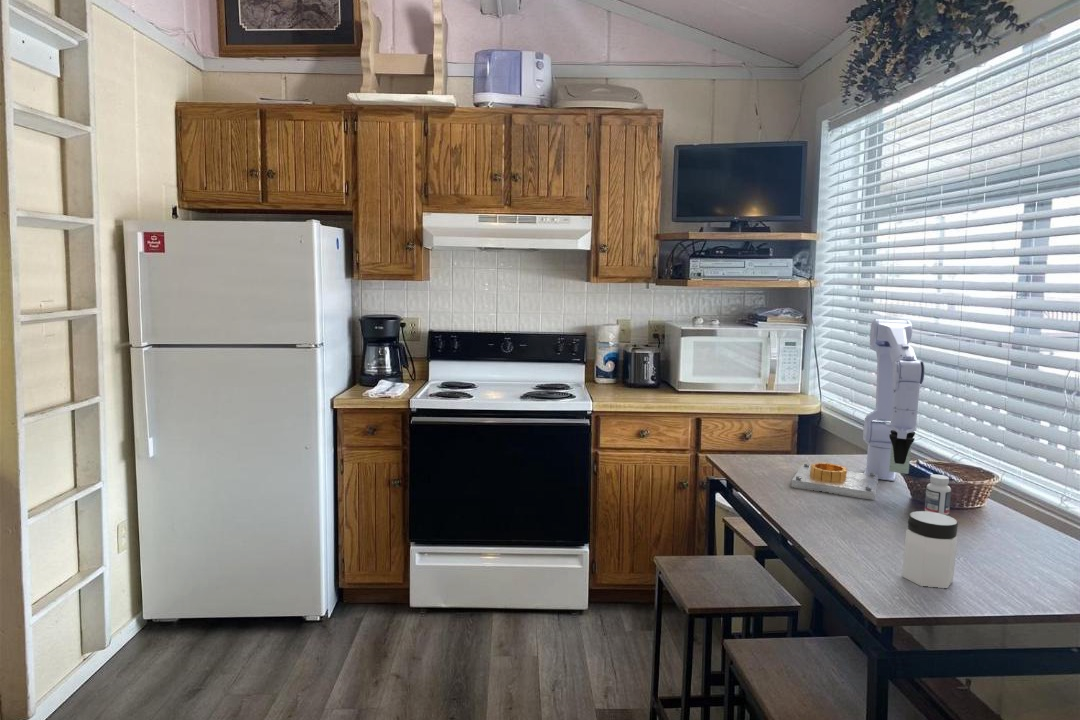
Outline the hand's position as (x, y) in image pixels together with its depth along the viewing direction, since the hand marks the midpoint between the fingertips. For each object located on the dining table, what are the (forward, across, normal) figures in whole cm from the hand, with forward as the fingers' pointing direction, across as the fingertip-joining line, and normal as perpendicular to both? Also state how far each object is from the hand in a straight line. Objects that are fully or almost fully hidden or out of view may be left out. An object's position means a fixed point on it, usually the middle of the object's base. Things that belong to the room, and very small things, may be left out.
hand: (899, 461), depth 189 cm
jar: (+10, +52, +7) cm, 53 cm away
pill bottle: (+10, +6, +9) cm, 15 cm away
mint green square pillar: (+2, 0, 0) cm, 2 cm away
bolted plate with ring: (+10, -5, -15) cm, 19 cm away
